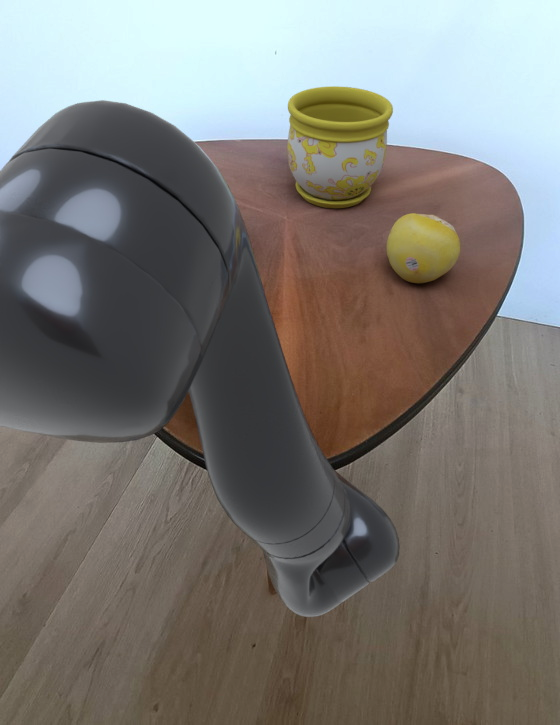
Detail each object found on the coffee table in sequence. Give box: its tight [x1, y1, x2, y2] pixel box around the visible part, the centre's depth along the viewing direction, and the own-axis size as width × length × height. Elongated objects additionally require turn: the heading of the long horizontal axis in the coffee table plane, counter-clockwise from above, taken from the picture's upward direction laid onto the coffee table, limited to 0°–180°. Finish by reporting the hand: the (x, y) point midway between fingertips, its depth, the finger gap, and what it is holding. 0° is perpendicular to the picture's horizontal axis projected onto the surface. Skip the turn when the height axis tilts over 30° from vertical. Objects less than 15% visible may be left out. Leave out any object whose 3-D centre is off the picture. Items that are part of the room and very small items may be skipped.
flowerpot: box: [286, 85, 394, 209], centre depth 100 cm, size 18×18×16 cm
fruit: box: [386, 212, 461, 284], centre depth 83 cm, size 10×11×10 cm
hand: (187, 311), depth 65 cm, fingers closed on corn cob, 4 cm apart
